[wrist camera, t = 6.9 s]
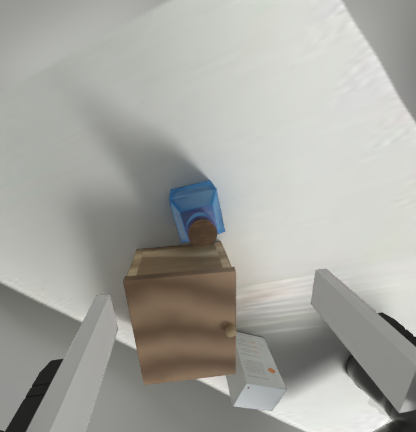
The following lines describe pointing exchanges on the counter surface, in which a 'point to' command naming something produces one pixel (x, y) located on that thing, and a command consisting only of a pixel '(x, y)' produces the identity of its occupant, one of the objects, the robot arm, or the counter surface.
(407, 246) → the counter surface
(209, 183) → the perfume bottle
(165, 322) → the lid
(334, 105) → the counter surface
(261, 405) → the small box
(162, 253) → the box
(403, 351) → the robot arm
